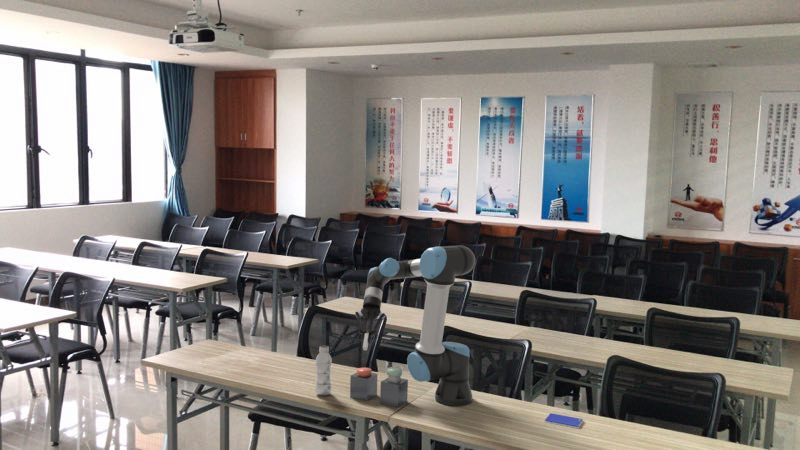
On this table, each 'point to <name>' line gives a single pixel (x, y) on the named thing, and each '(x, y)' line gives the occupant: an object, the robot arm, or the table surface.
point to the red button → (364, 372)
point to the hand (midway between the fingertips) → (364, 348)
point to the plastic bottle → (323, 371)
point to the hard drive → (564, 420)
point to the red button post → (363, 387)
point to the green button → (394, 374)
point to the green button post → (394, 393)
